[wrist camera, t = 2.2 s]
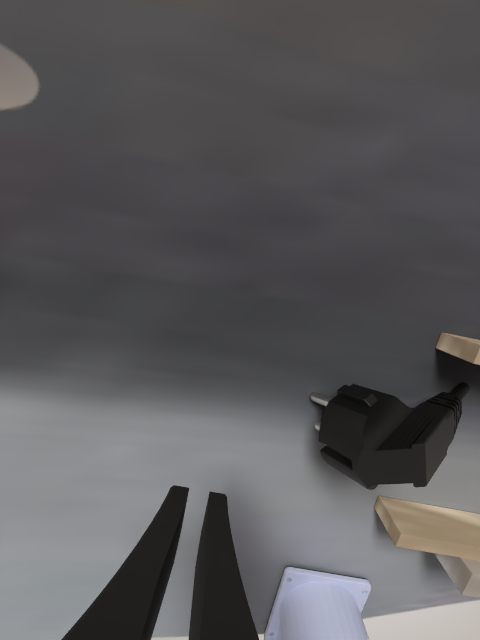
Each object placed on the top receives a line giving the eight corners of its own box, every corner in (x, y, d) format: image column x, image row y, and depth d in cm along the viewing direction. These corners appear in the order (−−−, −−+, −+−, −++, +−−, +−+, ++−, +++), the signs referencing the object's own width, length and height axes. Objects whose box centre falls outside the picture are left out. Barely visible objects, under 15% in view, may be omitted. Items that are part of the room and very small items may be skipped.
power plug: (478, 423, 18) (407, 543, 12) (375, 392, 25) (293, 460, 18) (479, 354, 17) (401, 445, 11) (371, 339, 24) (282, 392, 17)
